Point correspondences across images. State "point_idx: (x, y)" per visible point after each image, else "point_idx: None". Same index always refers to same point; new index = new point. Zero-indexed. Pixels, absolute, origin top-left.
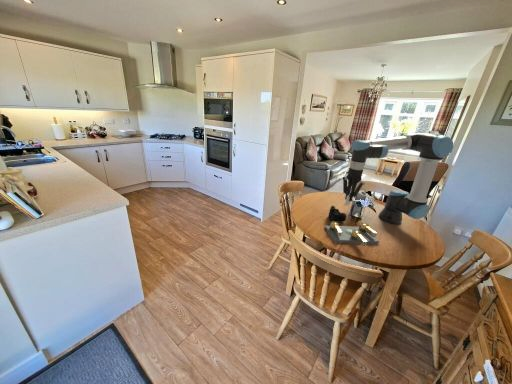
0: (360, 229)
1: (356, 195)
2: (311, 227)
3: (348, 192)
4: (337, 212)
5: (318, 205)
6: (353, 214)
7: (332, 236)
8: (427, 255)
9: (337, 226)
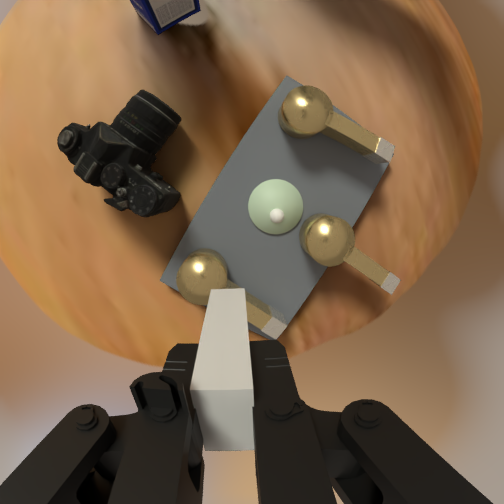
0: (297, 137)
1: (386, 421)
2: (136, 329)
3: (200, 493)
4: (123, 163)
5: (17, 120)
6: (167, 20)
7: (249, 329)
8: (469, 92)
9: None
